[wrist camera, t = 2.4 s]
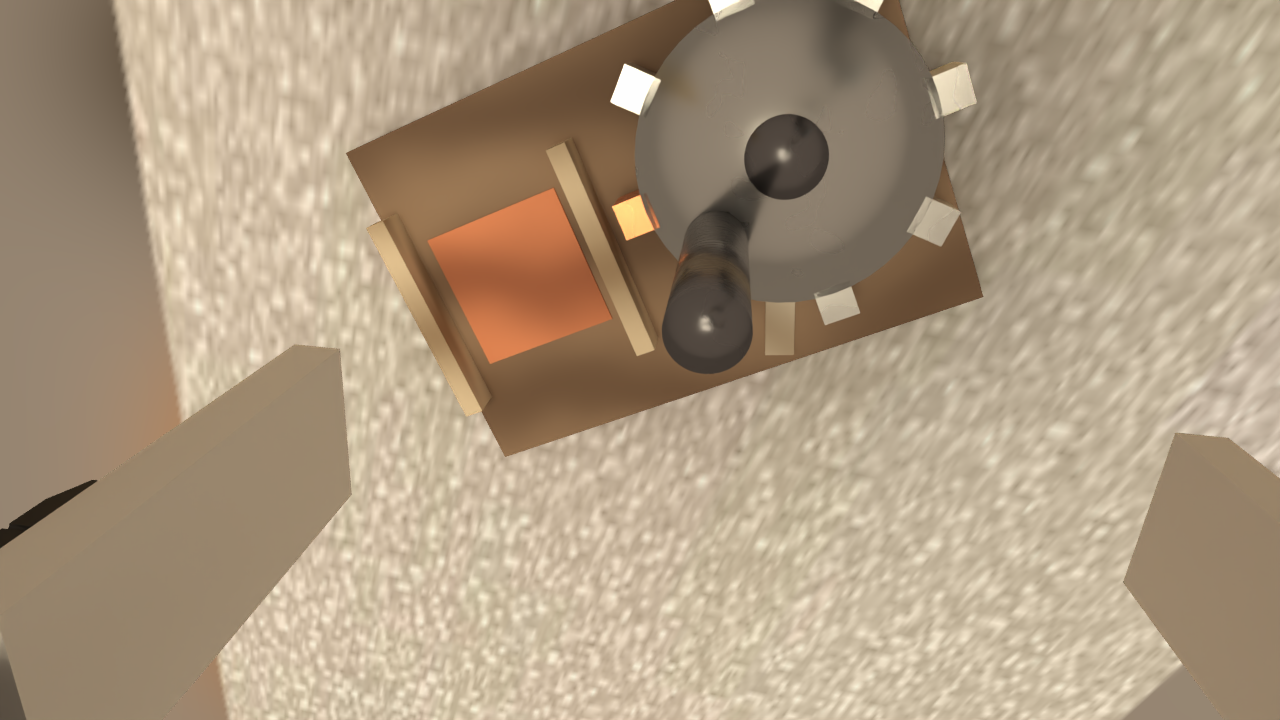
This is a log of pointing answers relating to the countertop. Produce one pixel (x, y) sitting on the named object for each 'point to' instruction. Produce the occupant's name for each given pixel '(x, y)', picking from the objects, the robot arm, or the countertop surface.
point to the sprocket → (784, 162)
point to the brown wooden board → (582, 248)
